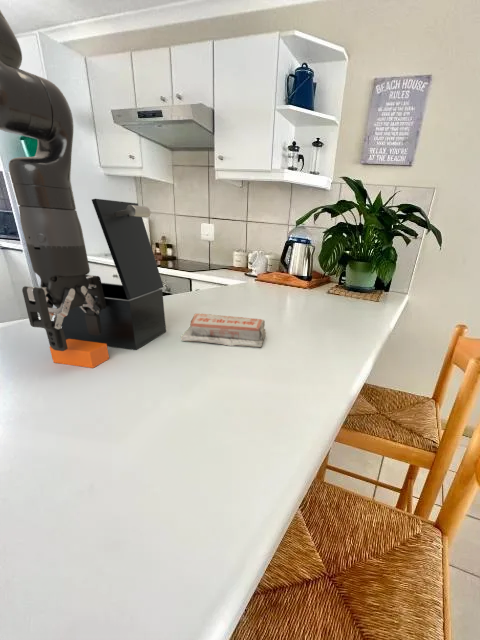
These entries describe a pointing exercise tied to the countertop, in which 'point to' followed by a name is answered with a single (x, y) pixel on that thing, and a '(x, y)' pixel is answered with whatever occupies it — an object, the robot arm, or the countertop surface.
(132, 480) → the countertop surface
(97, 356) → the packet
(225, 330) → the packaged product
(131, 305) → the bin
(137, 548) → the countertop surface
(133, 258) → the bin lid
